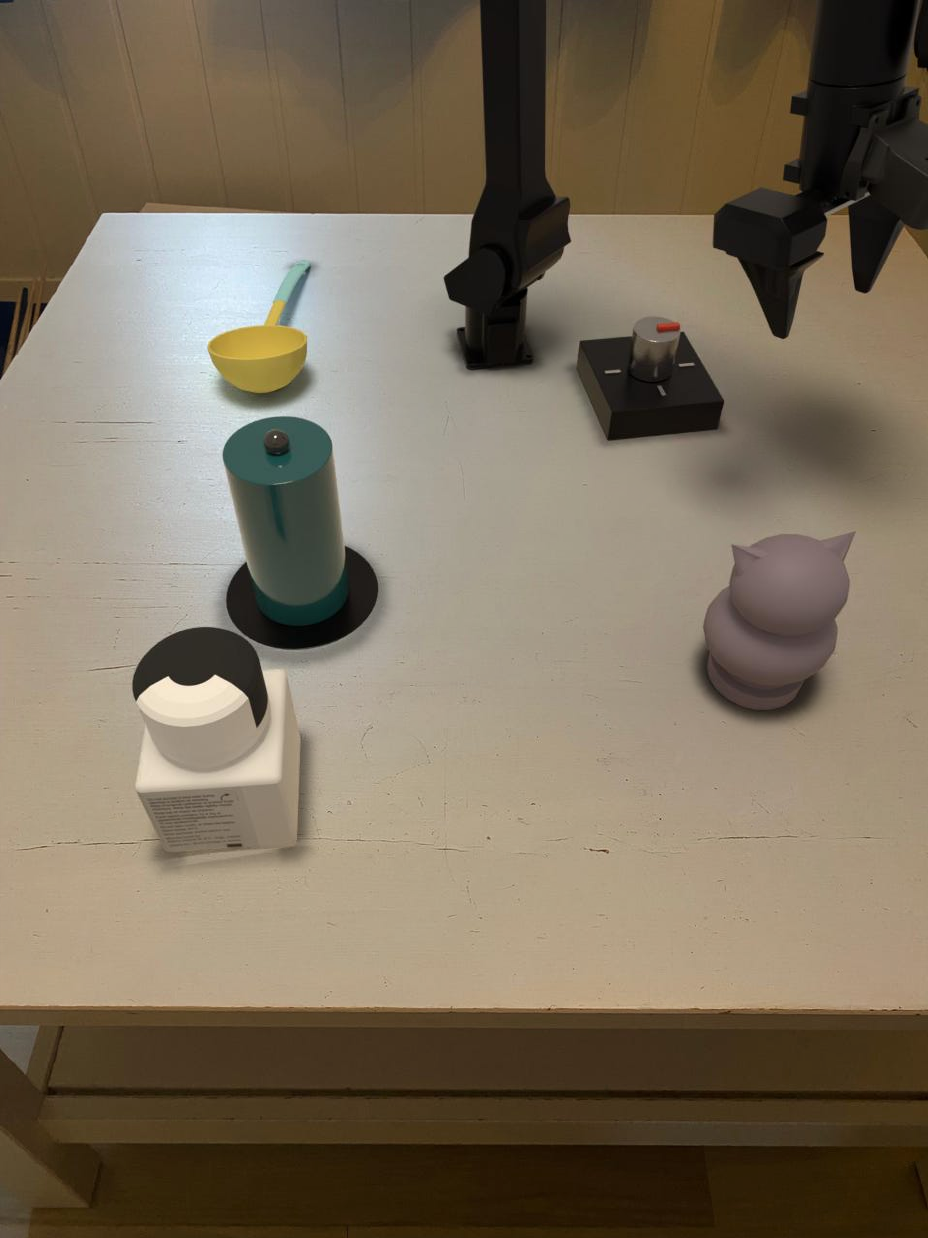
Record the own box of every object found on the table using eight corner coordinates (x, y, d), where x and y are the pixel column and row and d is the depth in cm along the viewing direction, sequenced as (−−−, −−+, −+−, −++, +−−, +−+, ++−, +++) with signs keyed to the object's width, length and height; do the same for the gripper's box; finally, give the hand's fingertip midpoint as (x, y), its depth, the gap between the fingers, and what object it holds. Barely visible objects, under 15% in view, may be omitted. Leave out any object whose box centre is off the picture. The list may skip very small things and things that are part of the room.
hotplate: (227, 554, 72) (225, 547, 71) (370, 539, 73) (370, 531, 73) (228, 666, 65) (226, 658, 64) (387, 646, 66) (386, 638, 66)
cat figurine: (711, 728, 62) (755, 605, 53) (675, 637, 67) (710, 511, 58) (834, 712, 63) (898, 589, 54) (790, 624, 68) (841, 498, 59)
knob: (634, 384, 82) (641, 340, 79) (621, 358, 85) (628, 315, 81) (678, 379, 83) (687, 336, 79) (664, 354, 85) (672, 311, 82)
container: (180, 748, 60) (128, 613, 51) (302, 740, 61) (273, 604, 51) (165, 858, 55) (104, 732, 46) (298, 849, 56) (265, 721, 46)
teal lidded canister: (254, 563, 70) (218, 404, 60) (345, 553, 71) (326, 394, 60) (256, 632, 66) (218, 472, 55) (353, 620, 67) (334, 461, 56)
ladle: (204, 408, 83) (191, 343, 79) (271, 312, 104) (263, 258, 101) (303, 408, 82) (294, 343, 79) (350, 312, 104) (345, 257, 100)
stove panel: (576, 368, 89) (579, 338, 87) (678, 358, 90) (684, 329, 88) (607, 440, 82) (612, 410, 79) (717, 429, 83) (725, 399, 81)
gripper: (877, 139, 49) (833, 402, 60) (1072, 49, 56) (1002, 299, 67) (714, 108, 56) (700, 348, 67) (905, 31, 64) (866, 259, 74)
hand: (822, 313), depth 69 cm, fingers open, 9 cm apart
